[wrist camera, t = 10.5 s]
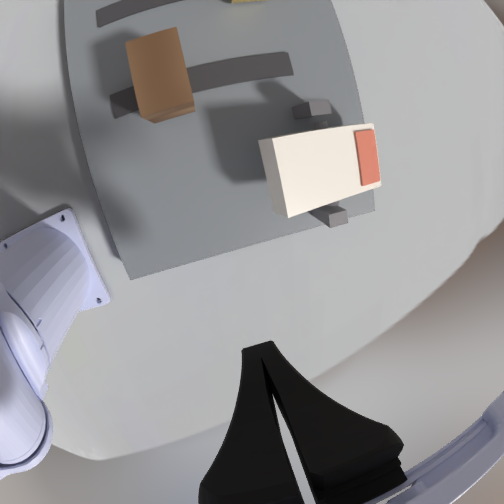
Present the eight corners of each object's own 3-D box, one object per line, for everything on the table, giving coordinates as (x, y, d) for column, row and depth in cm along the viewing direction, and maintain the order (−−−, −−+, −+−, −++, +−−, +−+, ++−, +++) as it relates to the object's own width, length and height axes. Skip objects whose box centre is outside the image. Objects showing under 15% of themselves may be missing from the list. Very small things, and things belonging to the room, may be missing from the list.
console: (135, 267, 19) (121, 302, 15) (73, -9, 9) (51, -33, 5) (360, 204, 21) (397, 221, 16) (293, -52, 11) (313, -81, 6)
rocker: (274, 218, 15) (291, 226, 14) (256, 133, 13) (271, 130, 12) (364, 188, 17) (383, 192, 16) (354, 118, 15) (373, 116, 14)
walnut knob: (154, 123, 14) (140, 117, 10) (141, 64, 12) (125, 42, 8) (195, 111, 14) (194, 100, 10) (181, 52, 12) (176, 26, 9)
